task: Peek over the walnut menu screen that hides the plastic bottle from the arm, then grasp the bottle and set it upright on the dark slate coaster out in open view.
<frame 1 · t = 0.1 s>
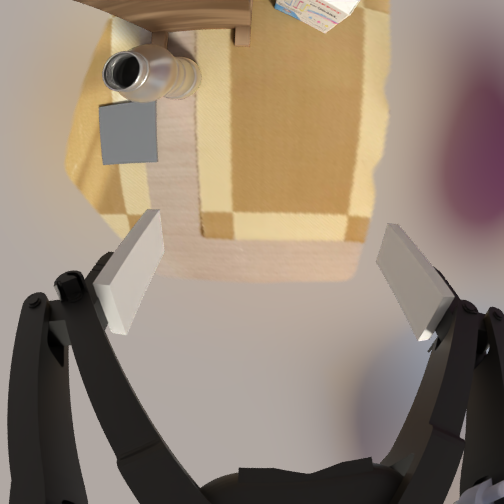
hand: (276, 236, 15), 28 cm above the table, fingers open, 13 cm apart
coaster: (127, 132, 37), on the table
ink box: (311, 2, 26), on the table
screen: (202, 23, 28), on the table
plastic bottle: (182, 78, 33), on the table
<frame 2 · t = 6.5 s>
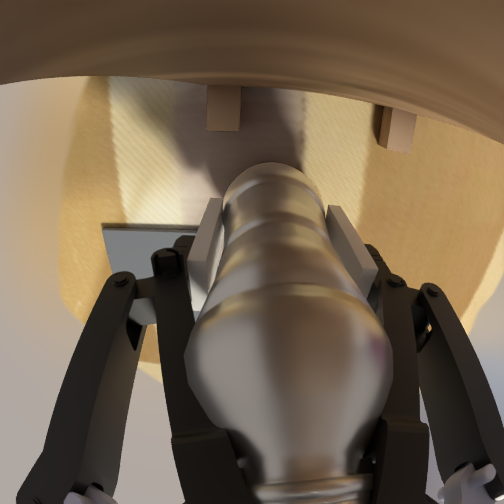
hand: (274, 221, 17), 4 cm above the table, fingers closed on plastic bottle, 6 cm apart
coaster: (163, 277, 24), on the table
screen: (318, 79, 15), on the table
plastic bottle: (271, 196, 20), on the table, touching gripper
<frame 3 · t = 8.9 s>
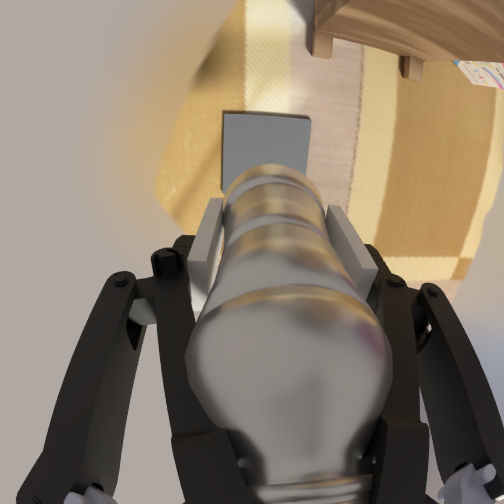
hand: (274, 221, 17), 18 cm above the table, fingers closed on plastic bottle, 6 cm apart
coaster: (265, 155, 32), on the table
ink box: (463, 47, 21), on the table
screen: (369, 39, 23), on the table
plastic bottle: (271, 197, 20), point 14 cm above the table, touching gripper
when the fingers open (6 cm above the table, at t = 11.3 s): plastic bottle drops 1 cm, resting on coaster.
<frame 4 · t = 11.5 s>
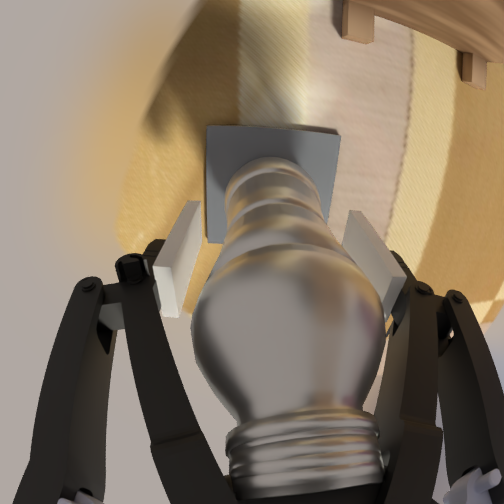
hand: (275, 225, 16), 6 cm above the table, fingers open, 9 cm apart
coaster: (270, 188, 22), on the table
screen: (420, 22, 13), on the table
plastic bottle: (270, 190, 21), resting on coaster
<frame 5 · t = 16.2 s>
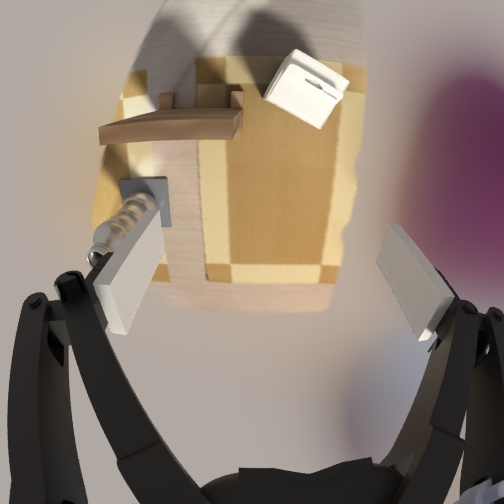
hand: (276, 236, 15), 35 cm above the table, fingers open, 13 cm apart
coaster: (145, 202, 51), on the table
ink box: (295, 89, 40), on the table
screen: (201, 113, 42), on the table
plastic bottle: (144, 203, 51), resting on coaster
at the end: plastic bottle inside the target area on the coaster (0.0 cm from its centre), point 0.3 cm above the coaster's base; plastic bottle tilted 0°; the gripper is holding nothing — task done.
